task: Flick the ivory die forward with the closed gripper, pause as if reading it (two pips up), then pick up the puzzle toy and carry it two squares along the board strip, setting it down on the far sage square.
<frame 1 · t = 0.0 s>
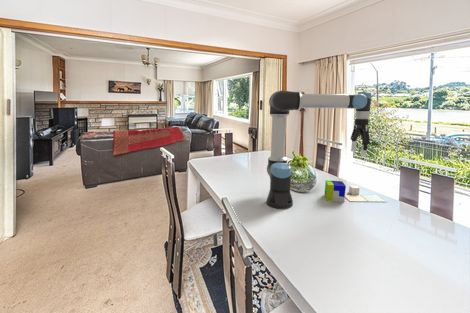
hand: (358, 153, 155), 28 cm above the table, fingers open, 13 cm apart
puzzle toy: (333, 198, 158), on the table
board: (363, 198, 157), on the table
die: (353, 193, 167), on the table
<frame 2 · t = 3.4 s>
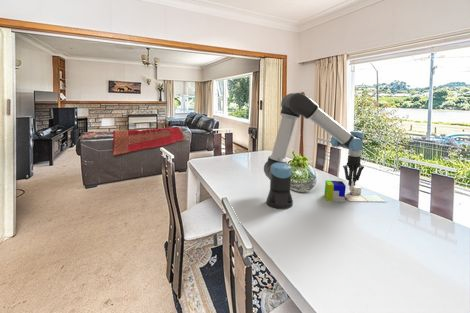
hand: (351, 190, 167), 2 cm above the table, fingers closed
die: (355, 193, 167), on the table, touching gripper
everything else where it was.
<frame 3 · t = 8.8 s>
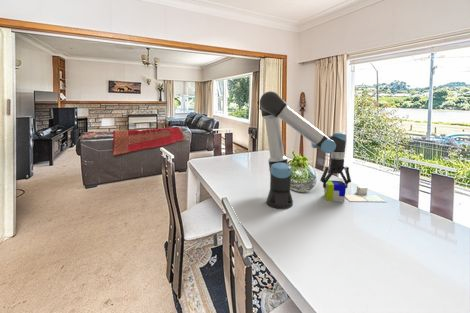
hand: (334, 193, 157), 3 cm above the table, fingers closed on puzzle toy, 11 cm apart
puzzle toy: (334, 198, 158), on the table, touching gripper
die: (361, 193, 167), on the table
when the fingers open (5 cm above the table, at t = 15.0 s): puzzle toy drops 1 cm, resting on board.
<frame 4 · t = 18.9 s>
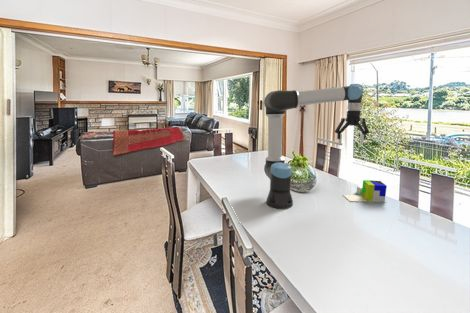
hand: (350, 144, 159), 33 cm above the table, fingers open, 13 cm apart
puzzle toy: (372, 198, 157), resting on board
everything else where it was.
at the end: puzzle toy inside the target area (0.0 cm from its centre), resting on board; puzzle toy tilted 0°; die moved 5.0 cm from its start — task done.
